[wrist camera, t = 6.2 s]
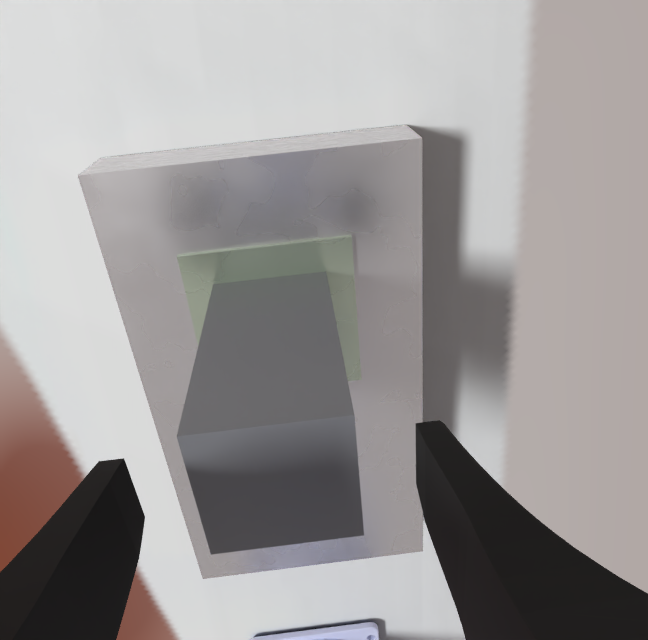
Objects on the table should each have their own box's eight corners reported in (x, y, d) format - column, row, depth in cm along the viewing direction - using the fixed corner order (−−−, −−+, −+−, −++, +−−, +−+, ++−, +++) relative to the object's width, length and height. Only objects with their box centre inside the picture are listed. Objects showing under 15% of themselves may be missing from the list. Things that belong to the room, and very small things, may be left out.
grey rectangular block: (335, 365, 21) (364, 535, 14) (232, 377, 21) (210, 554, 14) (325, 271, 19) (354, 414, 12) (212, 284, 19) (176, 436, 12)
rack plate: (412, 511, 29) (423, 554, 27) (208, 536, 29) (202, 582, 27) (406, 124, 20) (423, 138, 17) (100, 157, 19) (75, 176, 17)
